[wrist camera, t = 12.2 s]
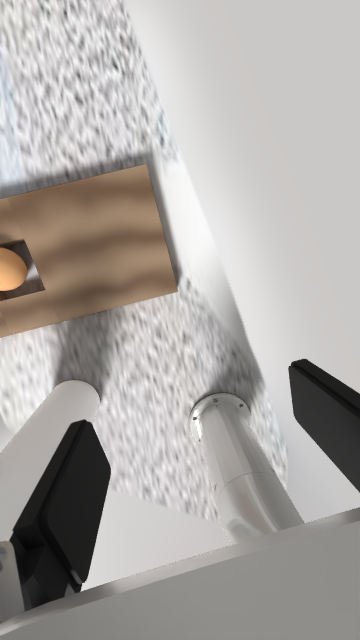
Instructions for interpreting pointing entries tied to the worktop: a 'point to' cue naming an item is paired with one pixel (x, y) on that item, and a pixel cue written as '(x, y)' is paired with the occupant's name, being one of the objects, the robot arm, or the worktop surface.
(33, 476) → the alcohol
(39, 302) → the board
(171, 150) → the worktop surface
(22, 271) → the orange ball
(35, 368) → the worktop surface
